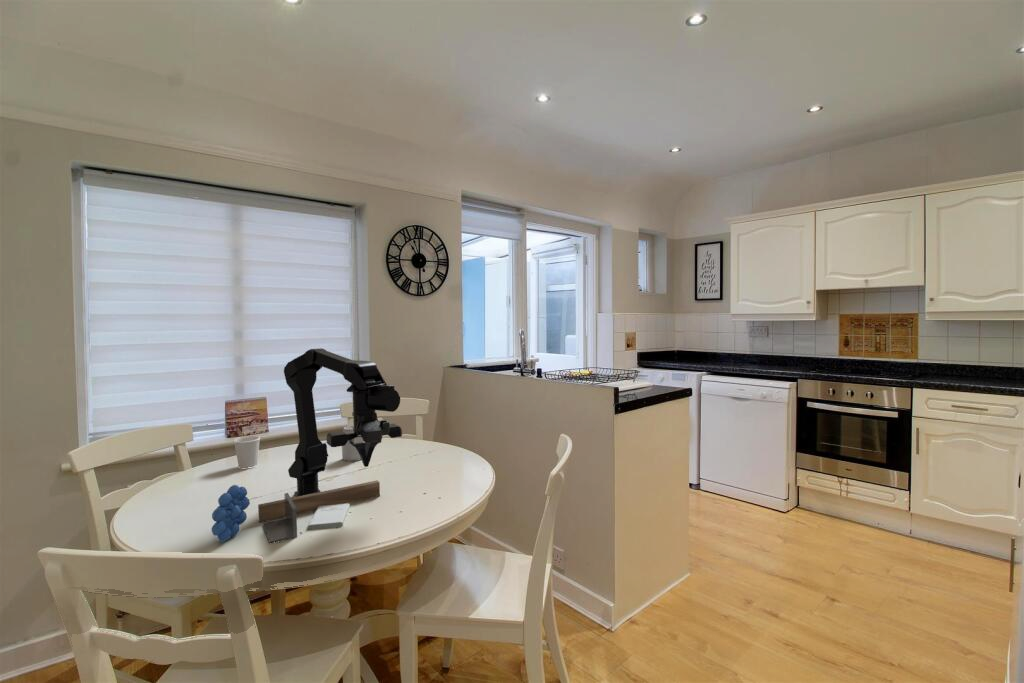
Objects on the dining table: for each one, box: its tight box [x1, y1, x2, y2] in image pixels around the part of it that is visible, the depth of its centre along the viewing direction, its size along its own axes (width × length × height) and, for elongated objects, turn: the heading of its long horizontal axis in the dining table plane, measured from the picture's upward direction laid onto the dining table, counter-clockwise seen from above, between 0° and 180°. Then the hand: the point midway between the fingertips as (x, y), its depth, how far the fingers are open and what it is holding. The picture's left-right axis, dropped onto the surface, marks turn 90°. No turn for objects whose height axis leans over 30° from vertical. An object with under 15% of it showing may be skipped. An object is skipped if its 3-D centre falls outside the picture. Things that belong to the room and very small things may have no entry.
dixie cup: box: [232, 435, 261, 468], centre depth 166 cm, size 8×8×10 cm
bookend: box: [262, 492, 298, 544], centre depth 114 cm, size 12×6×7 cm, turn 34°
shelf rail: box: [257, 480, 381, 523], centre depth 129 cm, size 2×31×4 cm, turn 124°
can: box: [341, 425, 361, 462], centre depth 174 cm, size 8×8×12 cm
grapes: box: [211, 484, 251, 543], centre depth 112 cm, size 12×7×12 cm, turn 175°
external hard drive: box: [307, 503, 351, 530], centre depth 122 cm, size 2×8×12 cm
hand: (366, 466), depth 127 cm, fingers closed
